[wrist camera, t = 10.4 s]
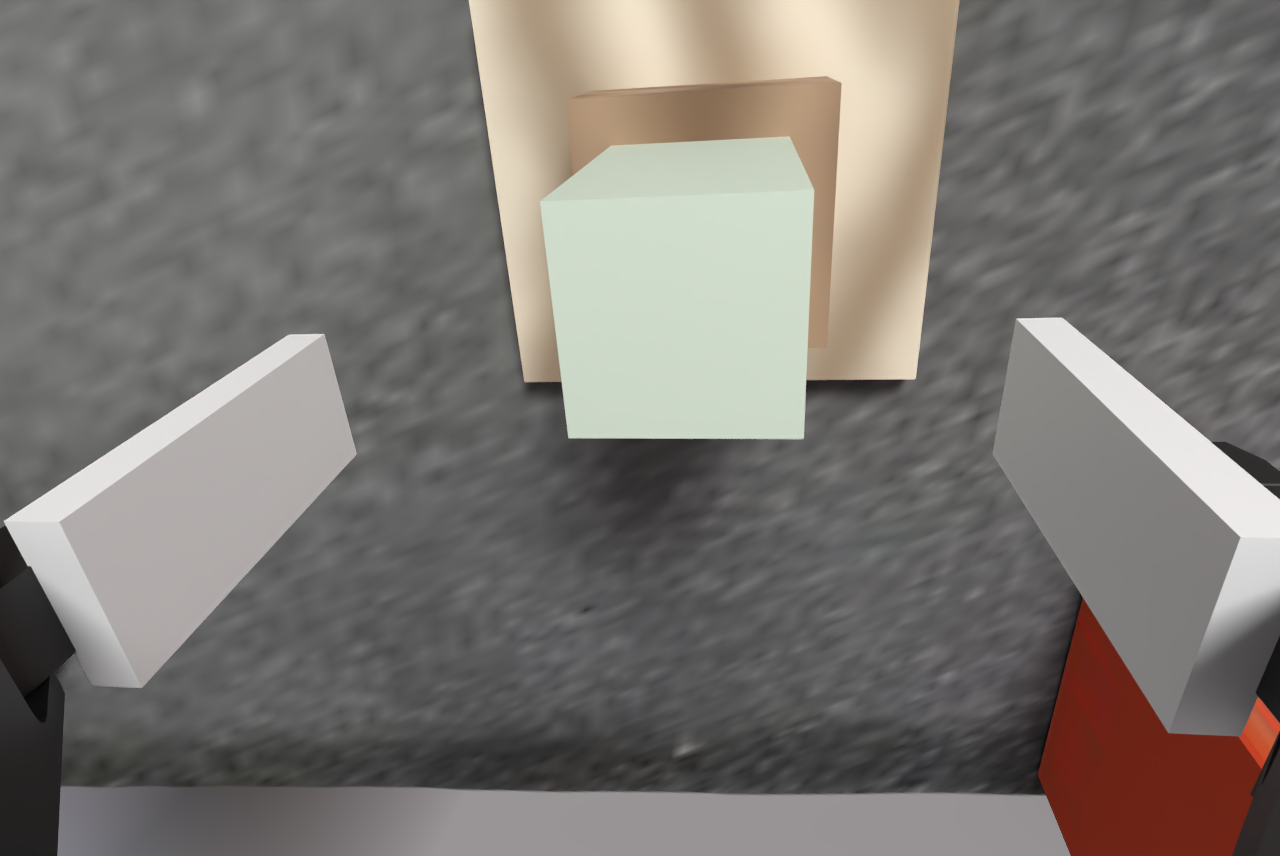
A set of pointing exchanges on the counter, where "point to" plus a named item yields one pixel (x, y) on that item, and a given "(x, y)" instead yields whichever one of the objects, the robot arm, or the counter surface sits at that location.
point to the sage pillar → (683, 290)
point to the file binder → (1141, 764)
